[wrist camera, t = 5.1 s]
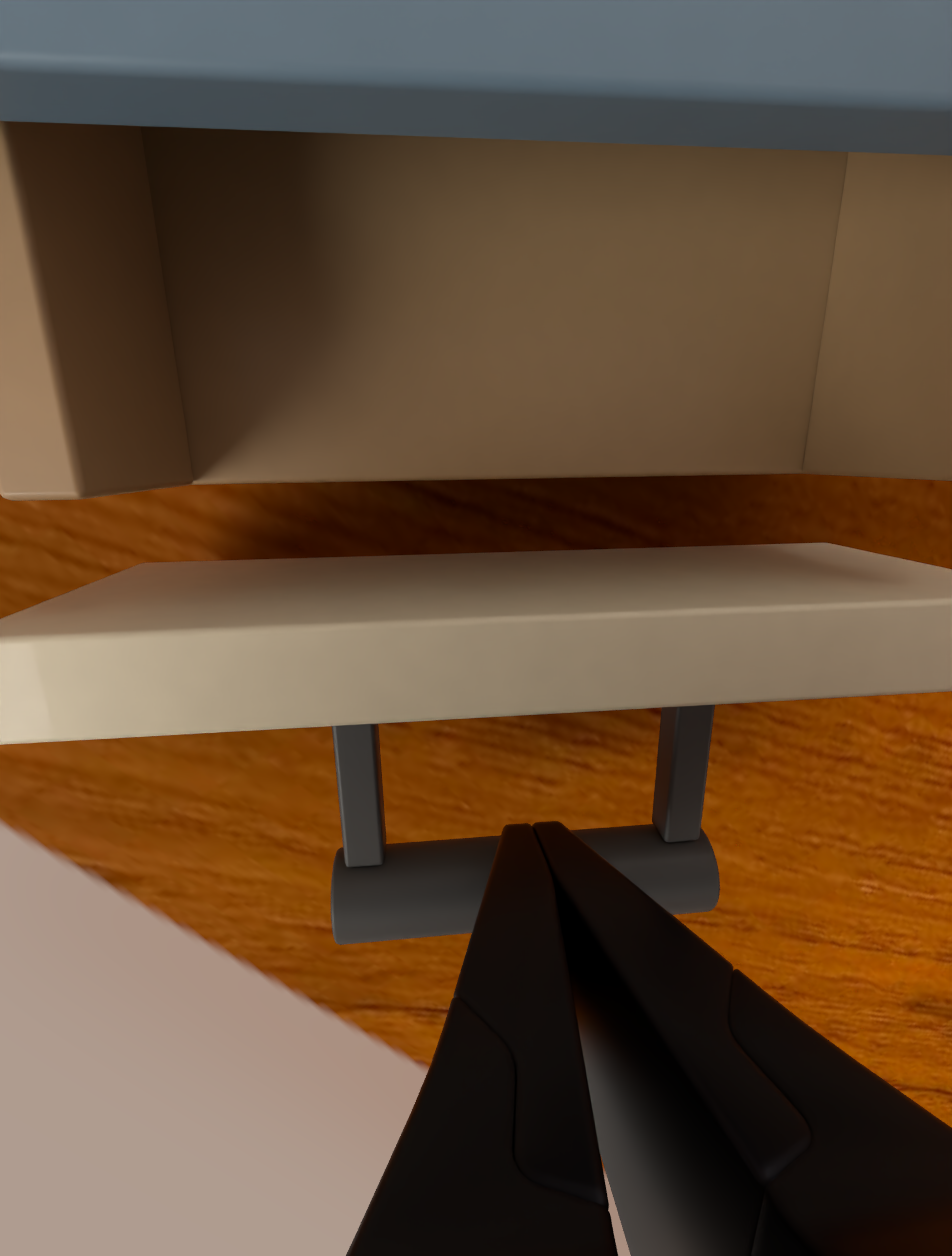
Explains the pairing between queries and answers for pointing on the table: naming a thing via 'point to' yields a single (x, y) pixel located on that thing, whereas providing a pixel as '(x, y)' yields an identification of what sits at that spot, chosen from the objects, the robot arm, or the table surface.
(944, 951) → the table surface
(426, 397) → the drawer
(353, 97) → the cabinet
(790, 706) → the table surface
